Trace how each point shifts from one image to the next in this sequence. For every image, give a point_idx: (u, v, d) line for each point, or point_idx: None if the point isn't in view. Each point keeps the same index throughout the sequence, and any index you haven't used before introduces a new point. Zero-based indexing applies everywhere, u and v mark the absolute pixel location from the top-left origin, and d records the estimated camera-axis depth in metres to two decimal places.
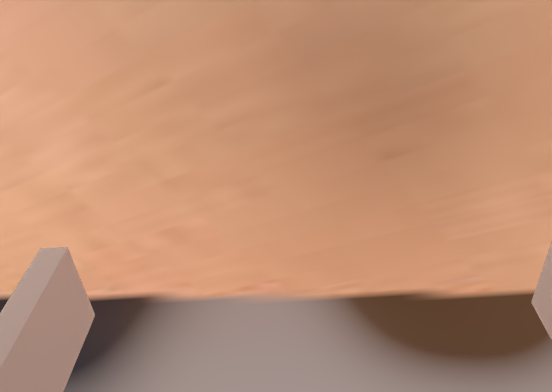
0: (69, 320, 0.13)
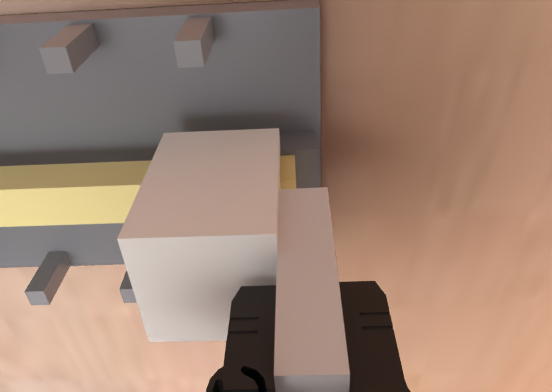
0: None
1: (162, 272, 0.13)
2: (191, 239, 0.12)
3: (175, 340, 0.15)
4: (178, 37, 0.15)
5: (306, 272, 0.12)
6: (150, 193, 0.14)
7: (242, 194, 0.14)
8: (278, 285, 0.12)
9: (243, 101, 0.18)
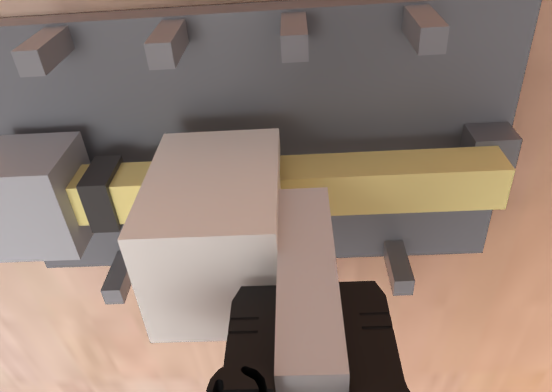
0: None
1: (163, 273, 0.13)
2: (191, 240, 0.12)
3: (176, 341, 0.15)
4: (421, 24, 0.14)
5: (306, 272, 0.12)
6: (150, 194, 0.14)
7: (242, 195, 0.14)
8: (278, 285, 0.12)
9: (441, 91, 0.18)
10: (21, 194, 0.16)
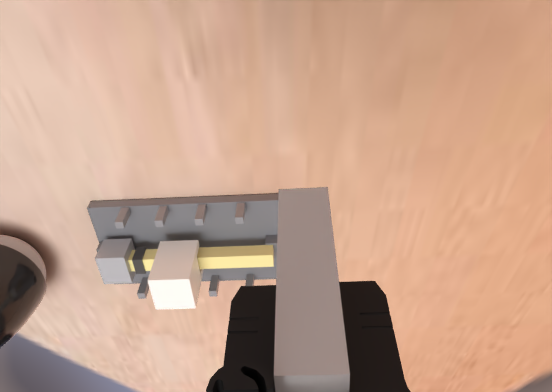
0: None
1: (159, 289, 0.47)
2: (167, 280, 0.46)
3: (163, 308, 0.49)
4: (236, 215, 0.48)
5: (306, 272, 0.12)
6: (156, 265, 0.48)
7: (182, 266, 0.48)
8: (278, 285, 0.12)
9: (255, 225, 0.52)
10: (114, 262, 0.50)
